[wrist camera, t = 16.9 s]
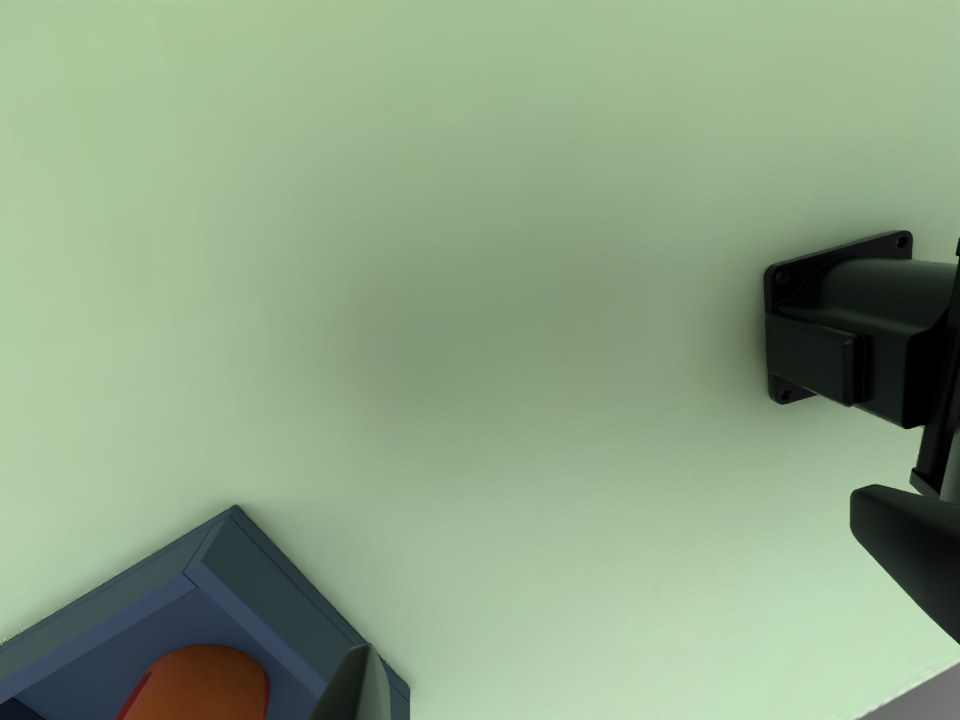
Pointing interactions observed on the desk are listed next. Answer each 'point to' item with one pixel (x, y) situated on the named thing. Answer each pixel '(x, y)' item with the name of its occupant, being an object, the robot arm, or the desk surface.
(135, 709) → the paper cup
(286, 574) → the open square box
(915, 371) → the robot arm
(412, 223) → the desk surface
